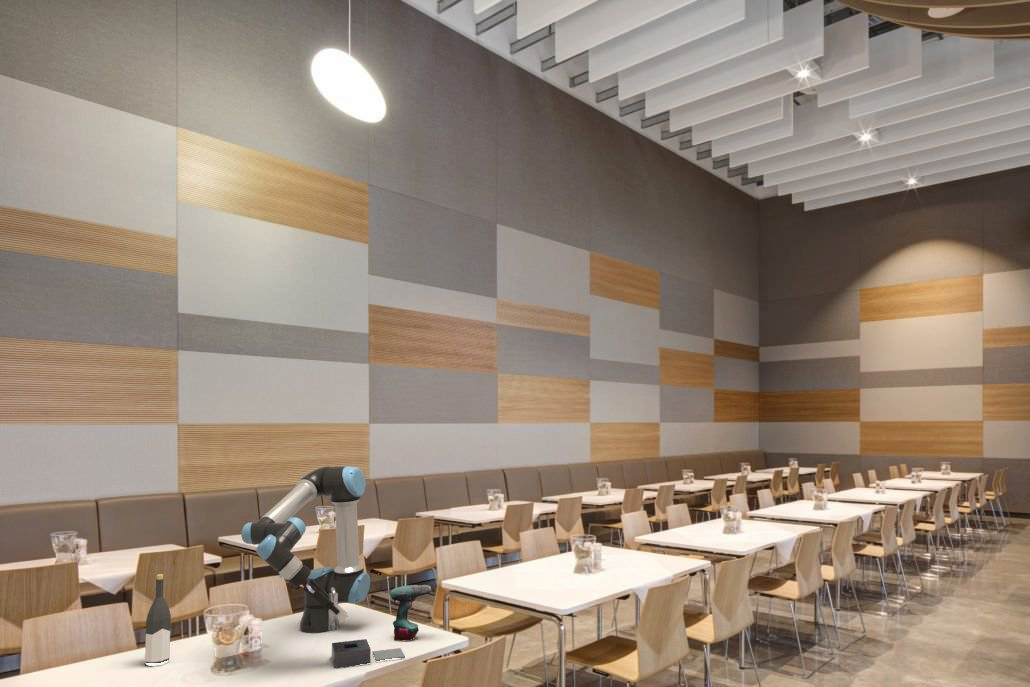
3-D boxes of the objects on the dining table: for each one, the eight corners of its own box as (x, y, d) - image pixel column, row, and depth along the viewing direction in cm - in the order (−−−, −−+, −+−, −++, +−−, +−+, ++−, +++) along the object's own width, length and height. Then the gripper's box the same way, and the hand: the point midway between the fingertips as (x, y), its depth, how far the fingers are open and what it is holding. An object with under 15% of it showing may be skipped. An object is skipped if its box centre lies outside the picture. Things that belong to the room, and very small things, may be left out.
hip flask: (328, 627, 249) (328, 587, 250) (336, 626, 249) (337, 586, 251) (329, 633, 241) (329, 592, 243) (338, 632, 242) (338, 591, 244)
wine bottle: (165, 657, 255) (167, 571, 258) (173, 662, 249) (176, 574, 253) (141, 663, 250) (143, 575, 253) (148, 668, 244) (151, 578, 247)
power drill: (428, 642, 265) (428, 587, 268) (387, 641, 269) (387, 586, 271) (434, 637, 272) (434, 583, 275) (394, 635, 276) (394, 582, 278)
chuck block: (331, 657, 251) (331, 643, 251) (366, 653, 255) (366, 639, 255) (334, 668, 239) (334, 653, 240) (370, 664, 243) (370, 648, 244)
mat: (372, 653, 254) (372, 651, 254) (400, 650, 257) (400, 647, 257) (376, 662, 245) (376, 660, 245) (405, 658, 248) (405, 656, 248)
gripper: (287, 576, 251) (335, 620, 254) (286, 586, 235) (338, 632, 239) (303, 559, 253) (350, 603, 256) (303, 568, 238) (354, 614, 241)
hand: (344, 617), depth 247 cm, fingers closed on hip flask, 3 cm apart
